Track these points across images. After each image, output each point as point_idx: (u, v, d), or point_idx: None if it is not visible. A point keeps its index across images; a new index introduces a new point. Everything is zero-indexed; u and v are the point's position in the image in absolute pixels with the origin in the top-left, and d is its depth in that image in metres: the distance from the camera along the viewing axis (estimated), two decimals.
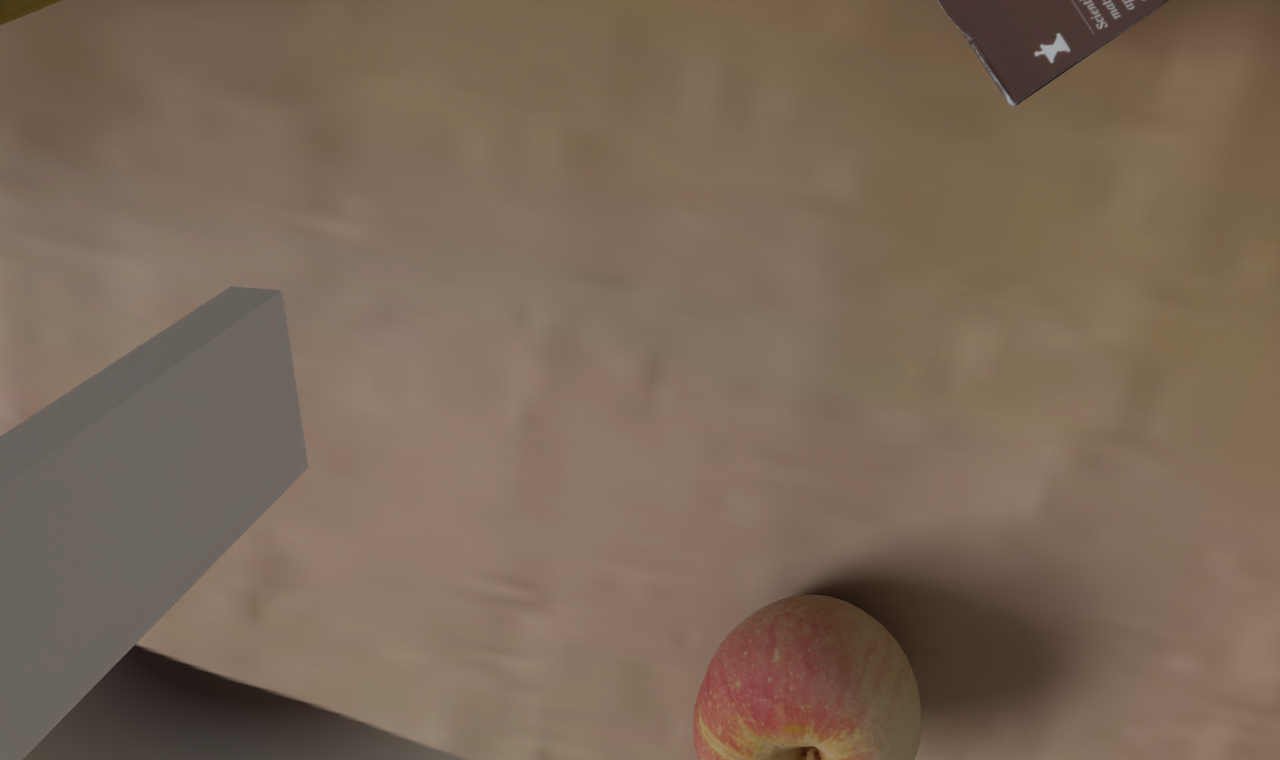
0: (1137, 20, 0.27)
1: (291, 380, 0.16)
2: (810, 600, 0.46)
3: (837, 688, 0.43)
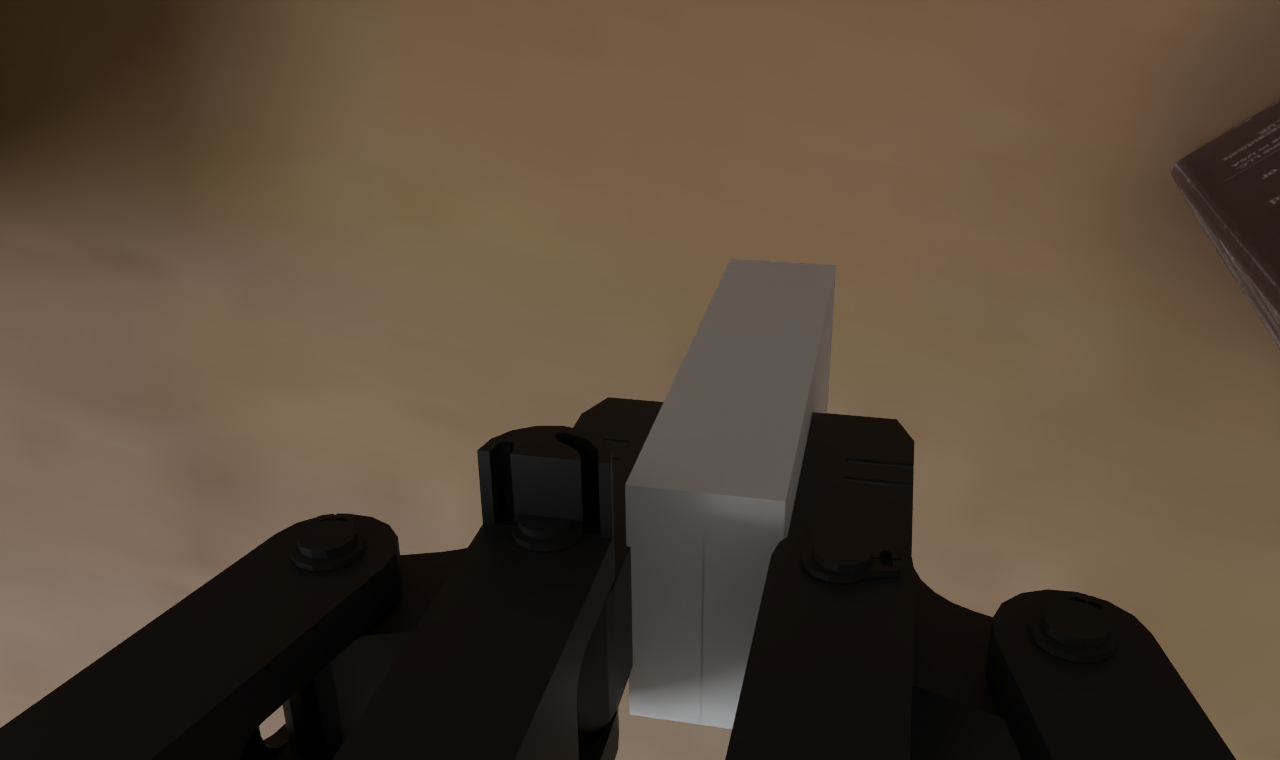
0: None
1: None
2: None
3: None
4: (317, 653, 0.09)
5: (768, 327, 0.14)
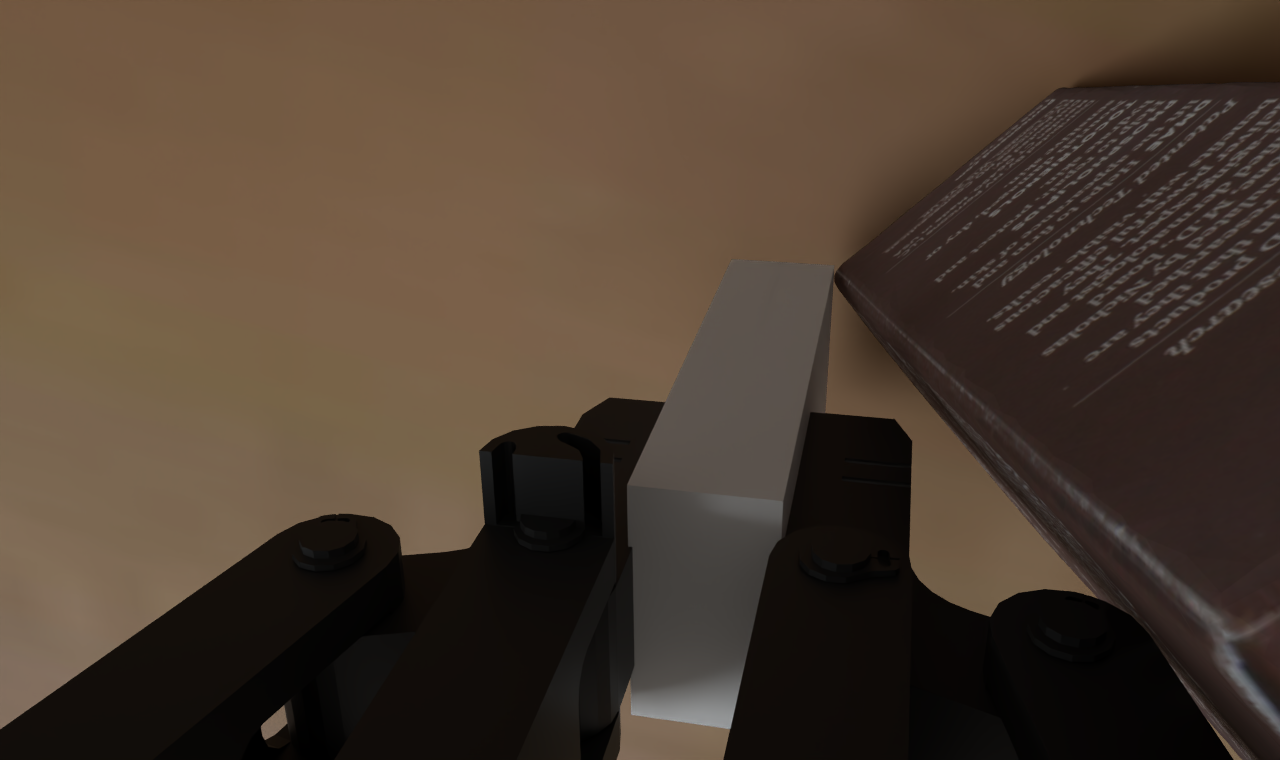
0: None
1: None
2: None
3: None
4: (319, 653, 0.09)
5: (766, 327, 0.14)
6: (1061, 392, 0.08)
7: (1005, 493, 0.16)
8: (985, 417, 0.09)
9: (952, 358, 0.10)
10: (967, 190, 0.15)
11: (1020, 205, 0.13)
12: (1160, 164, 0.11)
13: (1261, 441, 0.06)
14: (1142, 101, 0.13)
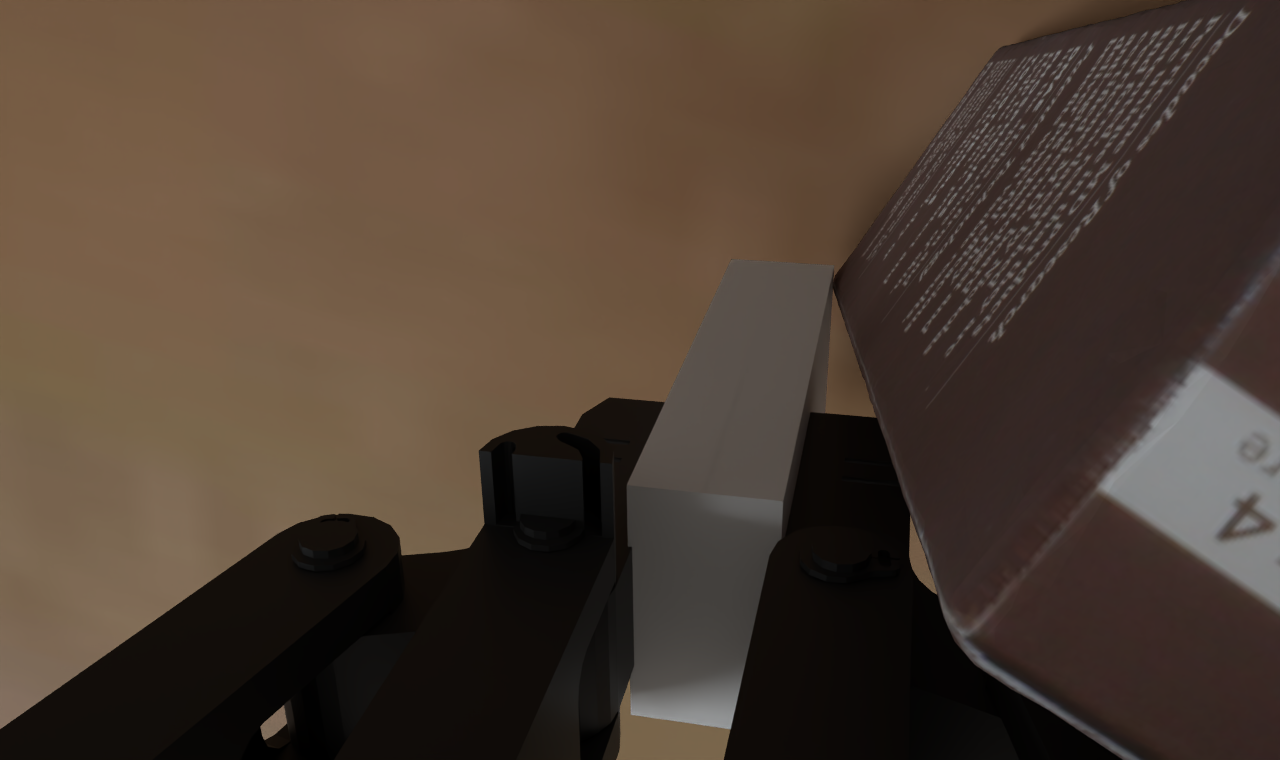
0: None
1: None
2: None
3: None
4: (319, 653, 0.09)
5: (766, 327, 0.14)
6: (924, 392, 0.09)
7: None
8: (881, 428, 0.09)
9: (874, 366, 0.11)
10: (922, 177, 0.15)
11: (948, 188, 0.13)
12: (1038, 125, 0.11)
13: (1014, 428, 0.06)
14: (1042, 55, 0.13)
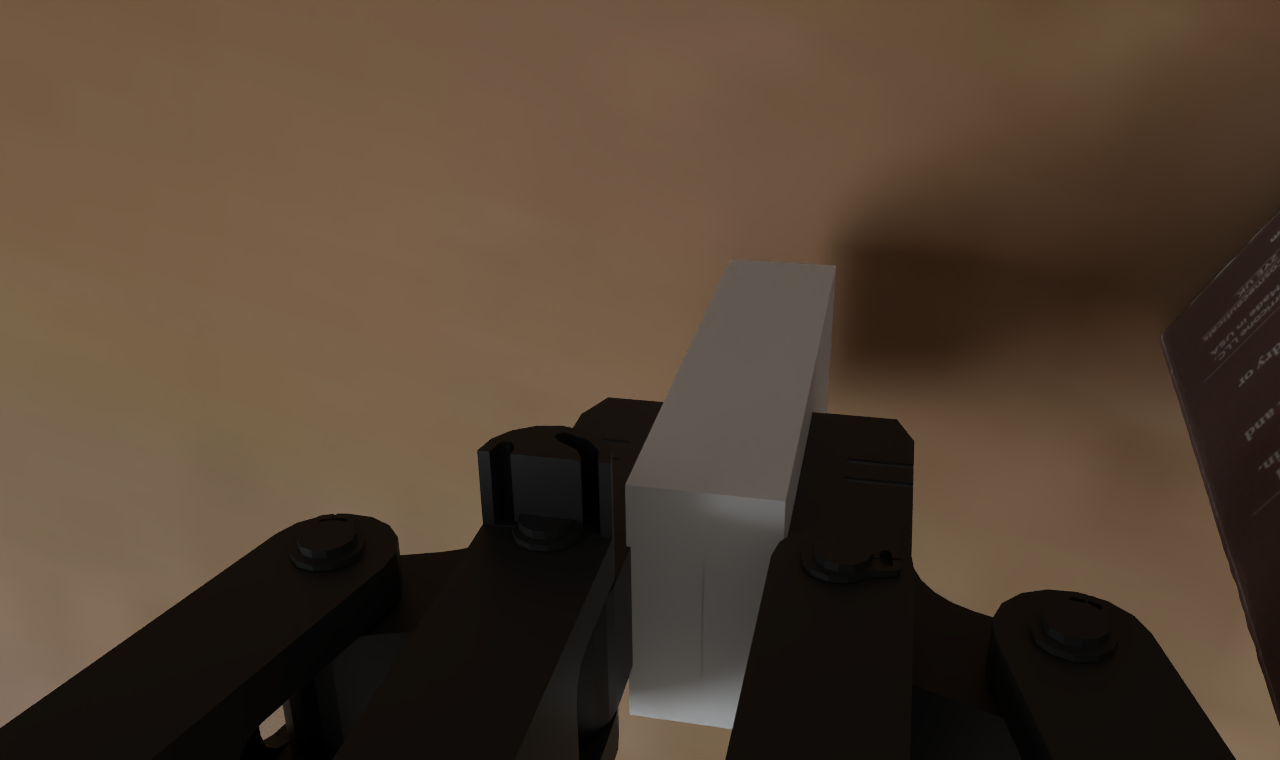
0: None
1: None
2: None
3: None
4: (317, 653, 0.09)
5: (768, 327, 0.14)
6: None
7: None
8: (1277, 715, 0.10)
9: (1253, 597, 0.11)
10: None
11: None
12: None
13: None
14: None
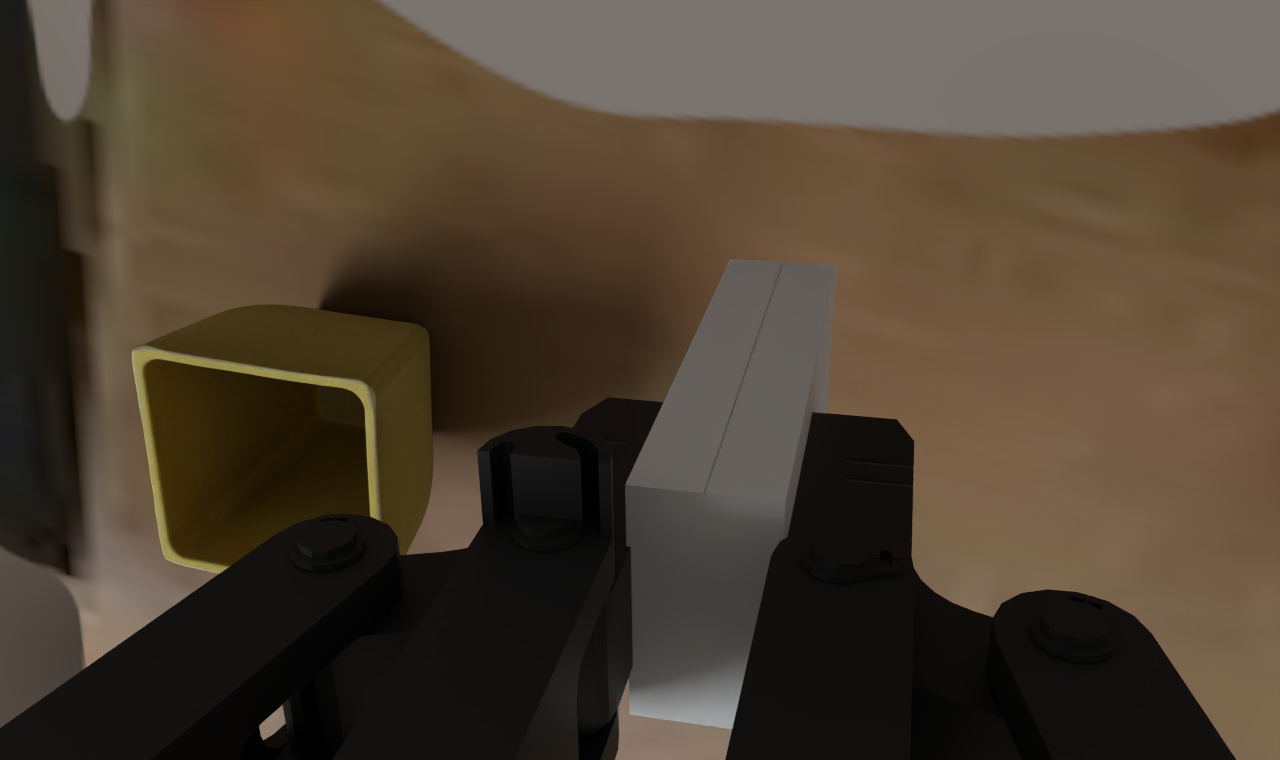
0: None
1: None
2: None
3: None
4: (317, 653, 0.09)
5: (768, 327, 0.14)
6: None
7: None
8: None
9: None
10: None
11: None
12: None
13: None
14: None
